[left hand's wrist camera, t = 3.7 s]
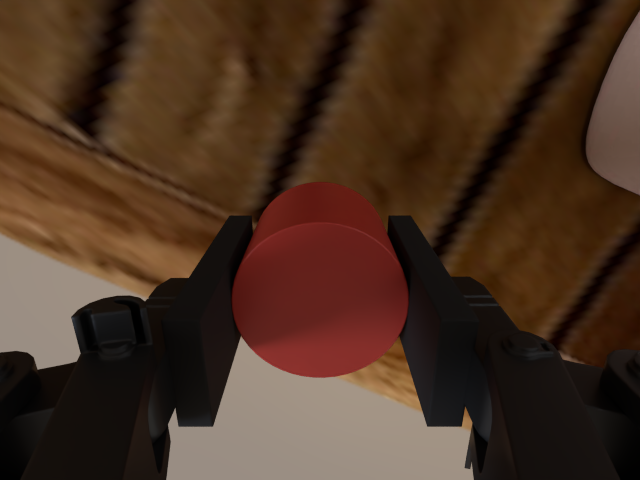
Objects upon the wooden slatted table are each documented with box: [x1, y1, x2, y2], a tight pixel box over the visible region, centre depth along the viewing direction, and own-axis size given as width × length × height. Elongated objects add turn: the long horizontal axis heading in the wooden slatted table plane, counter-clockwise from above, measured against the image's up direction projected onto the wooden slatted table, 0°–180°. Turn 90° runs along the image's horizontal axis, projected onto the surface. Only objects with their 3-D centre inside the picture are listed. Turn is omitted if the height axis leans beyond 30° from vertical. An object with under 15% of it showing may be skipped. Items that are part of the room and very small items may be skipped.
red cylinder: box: [231, 182, 409, 378], centre depth 13 cm, size 5×5×4 cm
